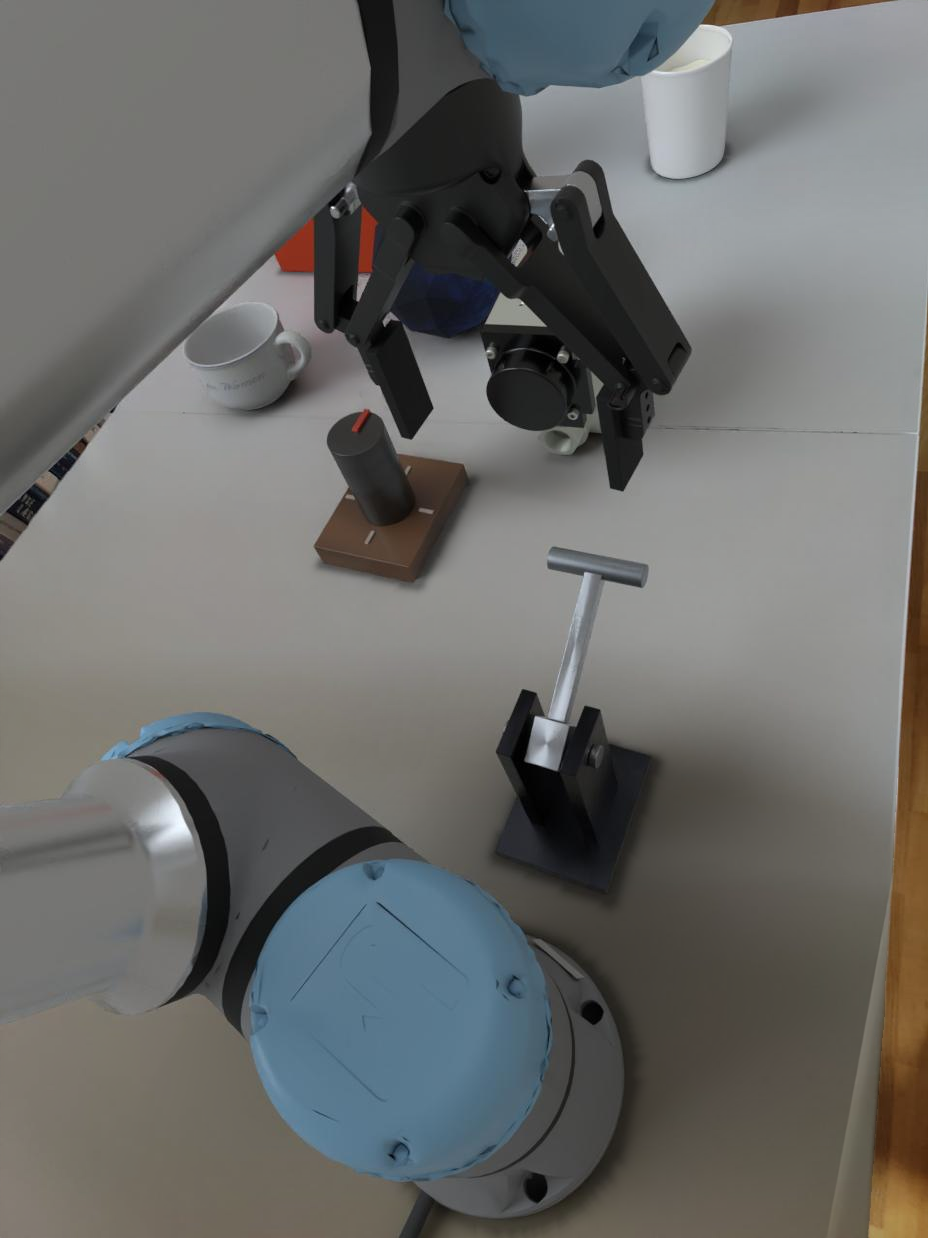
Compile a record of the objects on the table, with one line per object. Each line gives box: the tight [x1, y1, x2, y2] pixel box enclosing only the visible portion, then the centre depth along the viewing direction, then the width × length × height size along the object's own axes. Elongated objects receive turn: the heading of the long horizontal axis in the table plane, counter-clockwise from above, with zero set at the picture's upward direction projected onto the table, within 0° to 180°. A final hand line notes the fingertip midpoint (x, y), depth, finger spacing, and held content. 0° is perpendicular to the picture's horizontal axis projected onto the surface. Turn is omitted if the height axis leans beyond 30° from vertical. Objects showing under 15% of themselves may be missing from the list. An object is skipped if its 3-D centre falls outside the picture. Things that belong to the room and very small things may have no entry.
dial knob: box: [326, 408, 415, 526], centre depth 73 cm, size 5×5×9 cm
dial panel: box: [312, 453, 470, 584], centre depth 78 cm, size 12×10×3 cm
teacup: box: [181, 300, 313, 411], centre depth 91 cm, size 14×11×8 cm
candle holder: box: [639, 24, 734, 180], centre depth 95 cm, size 10×10×12 cm
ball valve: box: [479, 223, 604, 456], centre depth 73 cm, size 18×8×18 cm, turn 159°
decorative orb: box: [372, 223, 514, 339], centre depth 88 cm, size 14×15×15 cm
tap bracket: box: [494, 688, 653, 895], centre depth 55 cm, size 10×8×13 cm
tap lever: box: [524, 546, 650, 772], centre depth 51 cm, size 13×6×2 cm, turn 157°
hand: (516, 446), depth 49 cm, fingers open, 13 cm apart
